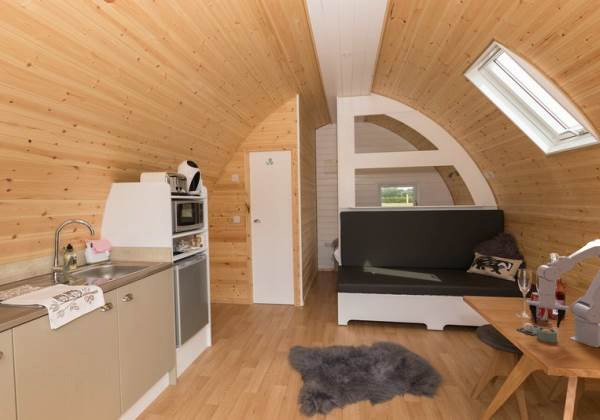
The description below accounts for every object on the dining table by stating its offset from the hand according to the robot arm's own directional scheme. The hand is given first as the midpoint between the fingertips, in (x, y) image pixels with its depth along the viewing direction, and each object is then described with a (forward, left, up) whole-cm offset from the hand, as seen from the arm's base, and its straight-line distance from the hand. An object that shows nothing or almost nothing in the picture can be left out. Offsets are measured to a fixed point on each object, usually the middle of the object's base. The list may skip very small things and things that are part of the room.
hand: (546, 324), depth 141 cm
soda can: (+16, -23, -7) cm, 29 cm away
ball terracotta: (0, 0, -6) cm, 6 cm away
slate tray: (+8, -4, -6) cm, 11 cm away
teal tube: (0, 0, -6) cm, 6 cm away
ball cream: (+8, -1, -6) cm, 10 cm away
